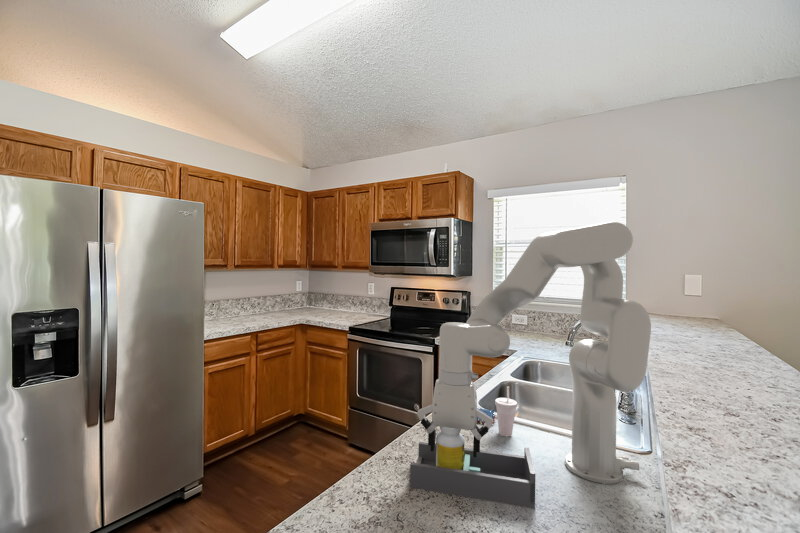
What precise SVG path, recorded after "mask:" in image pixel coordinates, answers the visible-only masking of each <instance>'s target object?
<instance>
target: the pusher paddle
mask: <svg viewBox="0 0 800 533" xmlns="http://www.w3.org/2000/svg"><path fill="white" fill-rule="evenodd" d="M463 470H465V471H471V472H478V473H480V468H476V467H470V454H465V459H464V468H463Z"/></svg>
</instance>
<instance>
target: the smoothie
mask: <svg viewBox="0 0 800 533" xmlns="http://www.w3.org/2000/svg"><path fill="white" fill-rule="evenodd" d="M494 404H495V406H496V417H497V426H498V434H499V435H500V436H501V437H505V436H506V438H508V437H507V436H510V437H512V436H513V429H514V424H515V416H516V411H517V410H516V409H517V407H518V402H517V400H515V399H512V398H510V386H507V387H506V397H498V398H497V397H496V399H495V400H494ZM511 435H512V436H511Z"/></svg>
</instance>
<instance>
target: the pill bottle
mask: <svg viewBox="0 0 800 533" xmlns="http://www.w3.org/2000/svg"><path fill="white" fill-rule="evenodd" d="M439 429H440V432H439V433H438V434H437V435H436V440H435V444H436V466H439V467H445V468H452V469H458V470H463V468H464V448H465V437H464V436H463V435H462V433H461V430H462V429H456V428H449V427H440V428H439Z"/></svg>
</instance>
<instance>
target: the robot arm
mask: <svg viewBox="0 0 800 533" xmlns="http://www.w3.org/2000/svg"><path fill="white" fill-rule="evenodd" d="M633 242H634V237H633V233H632V231H631V229H630V228H629V227H627V226H626V225H625V224H624V223H621V222H618V221H608V222H607V221H606V222H602V223H596V224H595V223H594V224H590V225H585V226H579V227H577V228H576V227H575V228H568V229H567V228H566V229H561V230H556V231H549V232H544V233H542V234H539V235H537V236H536V237H535V238H534V239H532V241H531V242H530V244H529V245H528V246H527V248H525V251H523V253H522V254H521V256H520V258H519V259H518V261H517V262H516V263H515V264H514V266H513V268H512V269H511V271H510V272H509V274H508V275H507V276H506V277H505V278H504V280H503V281H502V282H500V284H498V285H497V286H496V287H495V288H494V289H492V291H490V292H489V293H488V294H487V295H486V296H485V297H484V298H483V299H482V300H481V301H480V302H479V303H478V305H477V306H476V307H475V309H473V312H472V313H471V315H470V316H469V318H468V319H467V320H466V322H455V321H453V322H451V321H450V322H445V323H444V322H443V323H442V324H441V326H440V328H439V347H438V348H439V354H438V356H439V357H438V358H439V359H438V378H437V379H436V380H435V384H434V385H435V386H434V390H433V396H432V404H429V405H426V406H424V407H422V408H419V409H418V410H417V412H416V414H417V417H418V419H419V421H420V423H421V426H422V427H423V428H424V429H425V430H426V433H428V435H427V438H428V440H427V443H428V445H431V451H434V448H435V444H436V437H437V435H436V434H437V432H436V428H437V427H449V428H456V429H461V430H464V431H470V432H471V434H472V435H473V440H472V441H473V445H472V446H473V448H472V449H473V457H476V456H477V452H480V450H481V440H482V438H483V437H484V436H485V435H486V434H488V433H489V431H490V429H491V427H493V426H492V424H493V422H494V421H493V418H491V417H490V416H488V415H487V414H485V413H483V412H482V411H480V410H479V409H480V408H479V409H477V408H478V398H477V396H478V395H477V389H476V383H475V382H474V381H475V380H476V381H478V380H479V373H476V372H474V371H473V356H479V357H483V358H484V357H485V358H497V357H498V358H499V357H502V356H503V355H504V354H505V353H507V351H508V350H509V348H510V347H511V346H510V345H511V339H510V335H509V333H508V332H507V330H506V329H504V328H503V327H502V326H500V325H499V324H500V323H501V322H502V321H503V320H504V318H506V317H507V316H508V315H509V314H511V313H512V312H513V311H515V310H517V309H520V308H523V307H525V306H527V305H530V304H531V303H533V302H535V301H536V300H537V299H538V298H539V297H540V295H541V294H542V292H543V291H544V289H545V288H546V286H547V284H548V283H549V282H550V281H551V279H552V277H553V276H554V274H555V273H556V272H557V270H558V269H560V268H576V267H580V268H581V270H582V273H583V274H582V275H583V291H582V297H581V299H582V300H581V306H580V316H579V317H580V320H579V321H580V325H581V327H582V328H583V329H584V331H587V332H588V333H590V334H593V335H597V336H600V337H605V338H608V339H607V342H605V341H601V340H597V339H592V338H591V339H590V338H589V339H588V338H587V339H585V338H584V339H580V340H579V341H577V342H575V343H574V344H573V345H572V347H570V351H569V354H568V363H569V370H570V375H571V384H572V411H571V412H572V414H571V417H572V419H571V420H572V421H571V423H572V424H571V452H569V453H567V454H566V455H565V457H564V464H565V466H566V468H567V469H568V470H569V471H570V472H571V473H574V474H575V475H577V476H578V477H581V478H583V479H585V480H588V481H590V482H595V483H599V484H607V485H608V484H611V485H612V484H618V483H620V482H622V481H623V479H624V470H625V469H627V470H628V469H629V470H633V471H640V463H639V461H638V460H636V461H635V460H630V459H629V456H625V455H618V453H617V407H618V405H617V404H618V403H617V396H616V391H618V392H624V393H629V392H633V391H635V390H636V389H638V388H639V387H640V386H641V385H642V383H643V382H644V380H645V377H646V372H647V368H648V359H649V350H650V342H651V333H652V332H651V331H652V324H651V323H652V322H651V318H650V316H649V313H648V311H647V310H646V308H645V307H644V306H643V305H642V304H641V303H639V302H637V301H634V300H631V299H626V298H625V299H624V298H623V294H624V293H623V291H624V277H623V276H624V275H623V272H622V269H621V267H620V265H619V263H618V261H617V259H620V258H622V257H624V256H626V255H627V253H629V251H630V250H631V249H632V246H633ZM615 390H616V391H615ZM429 413H431V422H430V421H429V420H428V418H427V417H426V415H427V414H429ZM477 417H478V418H480V419H482V420H483V421H485V424H482V426H480V427H479V426H478V424H477ZM493 425H494V424H493Z"/></svg>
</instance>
